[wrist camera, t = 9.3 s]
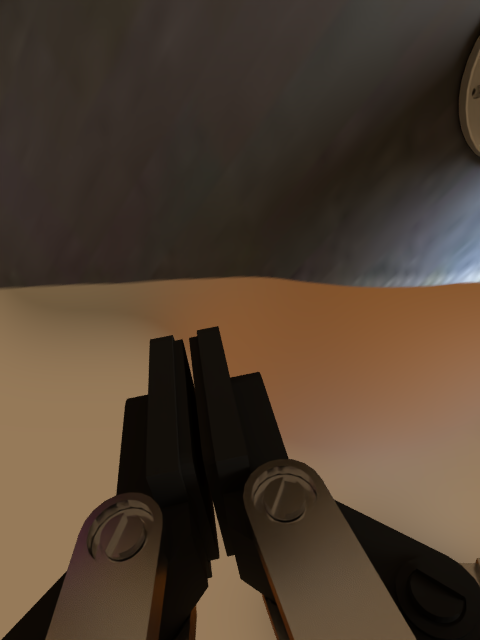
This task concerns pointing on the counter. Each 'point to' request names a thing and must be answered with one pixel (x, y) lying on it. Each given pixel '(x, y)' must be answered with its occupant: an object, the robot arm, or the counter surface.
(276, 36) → the counter surface
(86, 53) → the counter surface
